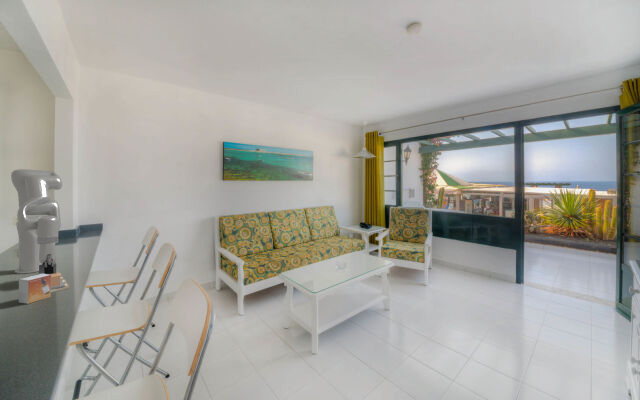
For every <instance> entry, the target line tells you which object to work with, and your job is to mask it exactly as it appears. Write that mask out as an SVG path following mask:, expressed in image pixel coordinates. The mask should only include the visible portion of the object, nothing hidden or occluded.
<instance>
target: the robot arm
mask: <svg viewBox="0 0 640 400" xmlns="http://www.w3.org/2000/svg"><path fill="white" fill-rule="evenodd" d="M10 178H11V182H12V185H13V186H14V188H15V190H16V192H17V195H18V196H17V198H18V210H17V214H16V216H17V222H16V231H17V235H18V268H17V269H15V270H14V274H18V275H19V274H20V275H21V274H31V273H39V265H43V264H45V267H44V274H53V271H54V266H53V263H55V261H56V260H55V259H56V257H55V256H56V244H57V243H59V231H60V230H61V227H62V222H61V213H60V212H61V211H60V205H59V202H58V201H57V200H54V199H51V194H50V191H51V190H52V191H57V190H58V191H59V190H61V189H62V187H63V180H62V178H61V177H60V176H59V175H58V174H57V173H56V172H54V171H51V170H40V169H24V168H23V169H22V168H21V169H20V168H19V169H15V170H13V171H12V172H11V173H10Z"/></svg>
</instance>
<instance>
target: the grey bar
mask: <svg viewBox="0 0 640 400" xmlns="http://www.w3.org/2000/svg"><path fill="white" fill-rule="evenodd" d="M53 266H54V271H53V274H56V272H57V263H56V262H53ZM44 267H45V264H43V265H39V271H38V275H39V274H44ZM49 275H50V274H49ZM61 287H65V285H64V283H63V282H62V280H61V279H60V285H59V286H54V287H51V289H56V288H61Z"/></svg>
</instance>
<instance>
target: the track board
mask: <svg viewBox="0 0 640 400" xmlns="http://www.w3.org/2000/svg"><path fill="white" fill-rule="evenodd" d="M56 273H59V275H60V279H61V280H62V282H63V283H64V285H65V287H61V288H56V289H51V293H54V292H60V291H64V290H69V289H70V285H69V284H68V283H67V281H66V279H65V278H64V277H63V275H62V274H61V272H60V271H56ZM31 276H32V275H30V276H29V277H31Z"/></svg>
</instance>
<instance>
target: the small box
mask: <svg viewBox="0 0 640 400" xmlns="http://www.w3.org/2000/svg"><path fill="white" fill-rule="evenodd" d="M30 276H31V277H30ZM30 276H27V277H23V278H19V279H18V303H20V304H25V305H26V304H27V305H29V304H32V303H35V302H38V301H42V300H44V299H48V298H51V297H52V296H51V295H52V294H51V293H52V292H51V275H49V274H39V273H38V274H36V275H30Z"/></svg>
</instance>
